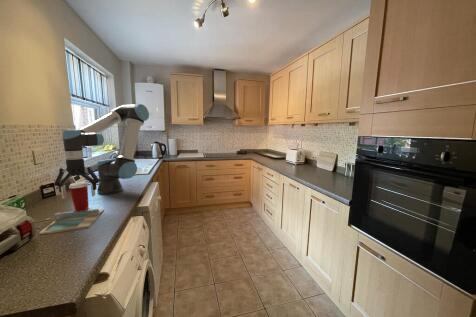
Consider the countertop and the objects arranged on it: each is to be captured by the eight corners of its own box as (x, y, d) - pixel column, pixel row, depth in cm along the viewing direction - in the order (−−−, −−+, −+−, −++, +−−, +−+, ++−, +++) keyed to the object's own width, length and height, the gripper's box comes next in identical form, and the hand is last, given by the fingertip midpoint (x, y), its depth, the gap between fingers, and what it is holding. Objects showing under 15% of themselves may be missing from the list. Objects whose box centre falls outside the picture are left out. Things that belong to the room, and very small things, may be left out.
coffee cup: (94, 207, 114) (91, 182, 112) (79, 213, 106) (76, 186, 104) (83, 205, 116) (80, 181, 114) (68, 211, 108) (64, 185, 106)
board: (64, 214, 104) (64, 213, 104) (103, 210, 109) (103, 209, 109) (39, 234, 85) (38, 232, 85) (88, 228, 90) (87, 226, 90)
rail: (57, 218, 98) (56, 213, 98) (99, 214, 103) (98, 208, 103) (55, 220, 97) (54, 214, 96) (98, 215, 102) (97, 209, 101)
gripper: (41, 160, 99) (47, 201, 103) (98, 158, 106) (102, 196, 109) (50, 158, 107) (55, 196, 110) (104, 156, 114) (107, 192, 117)
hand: (79, 196), depth 110 cm, fingers open, 13 cm apart
